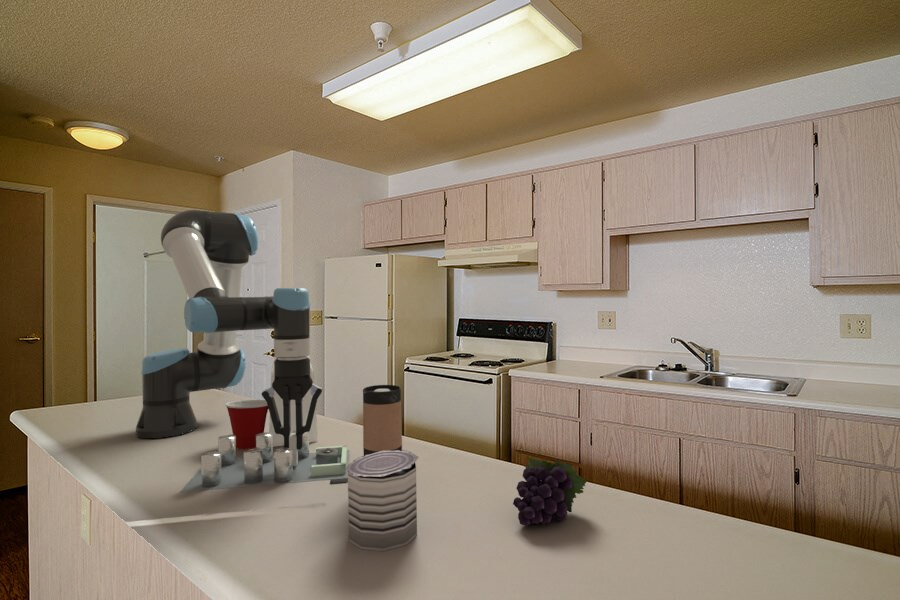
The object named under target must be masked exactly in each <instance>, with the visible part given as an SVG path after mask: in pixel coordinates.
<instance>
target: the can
mask: <svg viewBox="0 0 900 600" xmlns="http://www.w3.org/2000/svg"><path fill="white" fill-rule="evenodd" d="M419 457H420V456H418V455H417V454H415V453H414V452H413V453H412V452H411V451H409V450H407V449H402V450H396V451H380V452H376V453H372V454H369V455H365V456H364V455H362V456H358V457H356V458H354V460H352V461H351V462H349V465H348V466H347V467H346V468H345V469H346V470H347V471H348V482H347V494H348V495H347V498H348V499H347V501H348V502H347V503H348V505H347V506H348V509H347V510H348V542H350V543H351V544H352V545H354V546H356V547H357V548H358V549H360V550H361V551H373V552H386V551H390V550H394V549H398V548H402V547H405V546H407V545H408V544H409V543H410V542H411V541H413V540H414V539H415V538H416V537H417V536H418V515H417V514H418V513H417V512H418V511H417V510H418V507H417V497H418V496H417V465H416V462H417V460H419Z"/></svg>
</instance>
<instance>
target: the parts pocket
mask: <svg viewBox="0 0 900 600" xmlns="http://www.w3.org/2000/svg"><path fill="white" fill-rule="evenodd" d="M325 448H335V449H338V456H342V457H341V463H335V464H322V465H312V466H311V477H312V476H324V475H336V474H346V469H345V468H346V461H347V450H348V446H347V445H335V446H333V445H332V446H321V447H319V446H318V447H316V448H315V453H317V450H321V449H325Z"/></svg>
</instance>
